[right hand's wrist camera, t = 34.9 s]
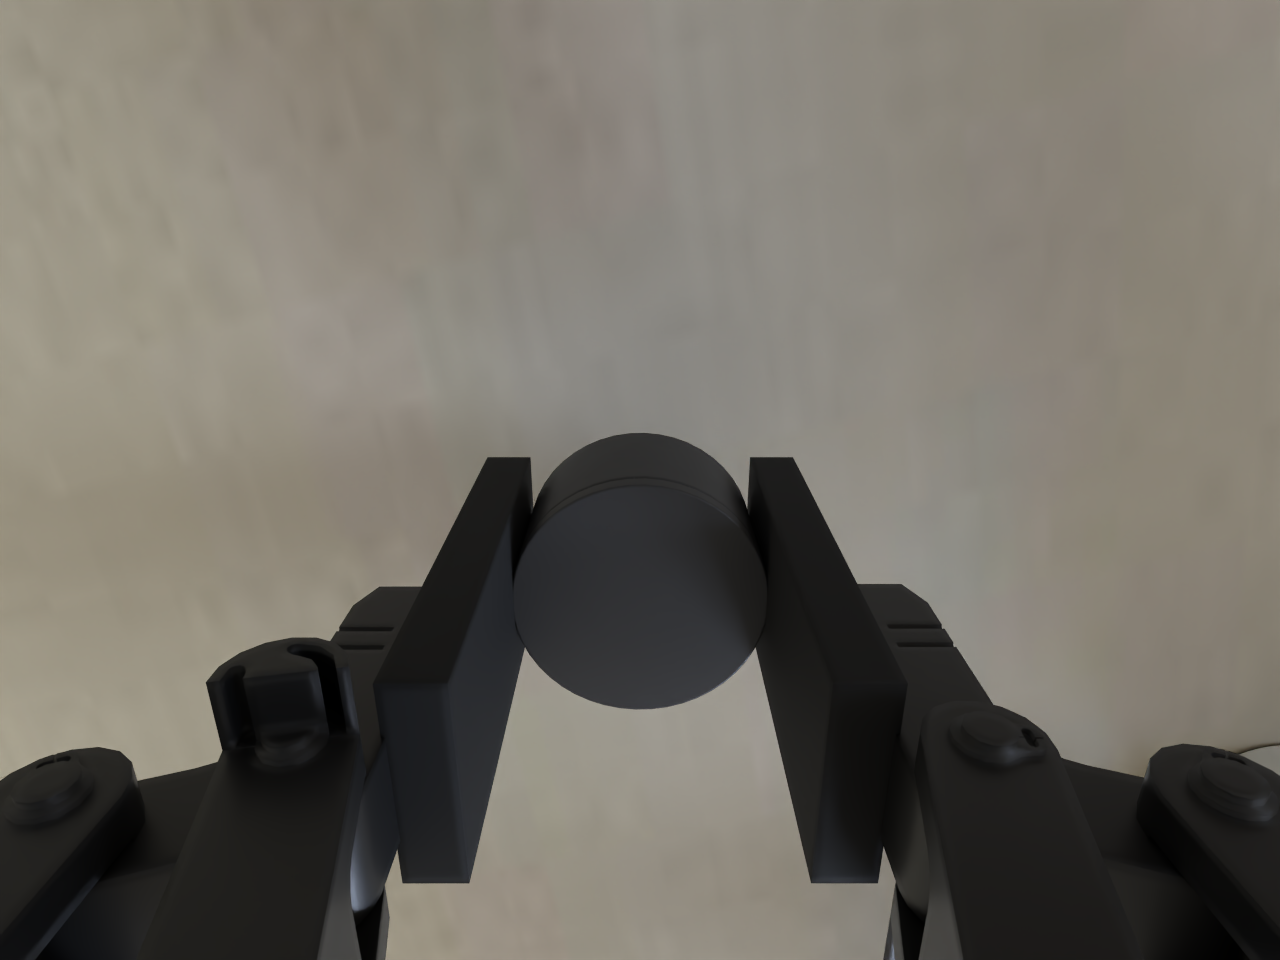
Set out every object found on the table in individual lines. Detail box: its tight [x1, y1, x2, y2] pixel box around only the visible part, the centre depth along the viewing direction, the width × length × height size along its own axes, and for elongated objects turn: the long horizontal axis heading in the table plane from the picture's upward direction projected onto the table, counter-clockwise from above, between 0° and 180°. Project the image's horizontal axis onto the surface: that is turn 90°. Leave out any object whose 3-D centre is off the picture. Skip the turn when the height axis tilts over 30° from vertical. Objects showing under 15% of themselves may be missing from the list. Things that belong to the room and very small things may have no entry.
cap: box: [513, 433, 768, 709], centre depth 13 cm, size 4×4×2 cm
